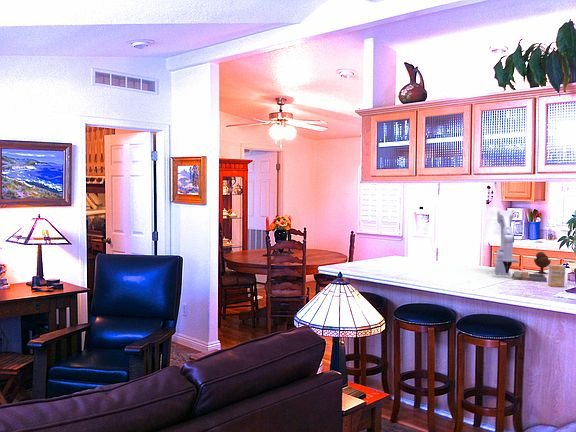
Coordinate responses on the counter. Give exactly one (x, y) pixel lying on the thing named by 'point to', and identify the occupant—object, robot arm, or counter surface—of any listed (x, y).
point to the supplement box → (556, 275)
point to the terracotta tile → (524, 273)
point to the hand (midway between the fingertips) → (506, 273)
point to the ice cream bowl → (541, 261)
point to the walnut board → (521, 277)
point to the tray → (538, 277)
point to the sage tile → (517, 273)
